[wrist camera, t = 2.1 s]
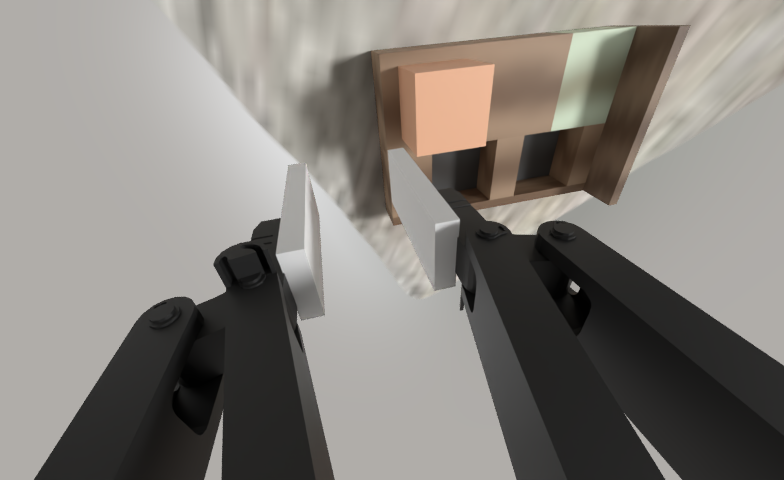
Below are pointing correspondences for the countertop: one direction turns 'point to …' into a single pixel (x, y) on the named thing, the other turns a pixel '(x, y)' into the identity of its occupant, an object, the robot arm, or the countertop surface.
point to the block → (445, 105)
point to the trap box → (542, 111)
